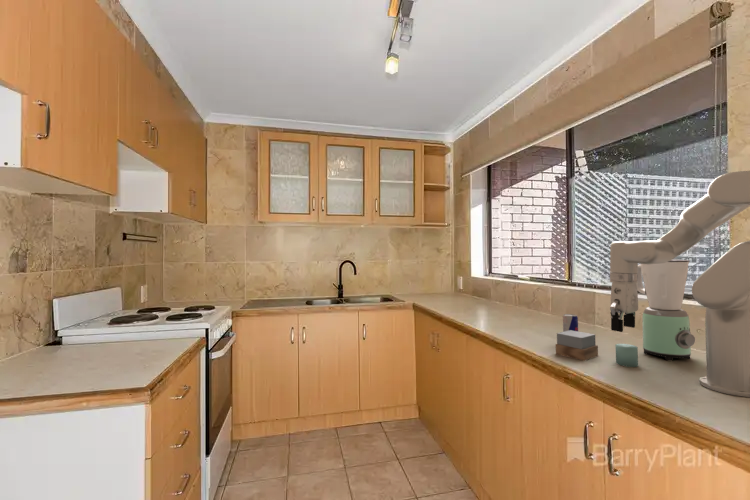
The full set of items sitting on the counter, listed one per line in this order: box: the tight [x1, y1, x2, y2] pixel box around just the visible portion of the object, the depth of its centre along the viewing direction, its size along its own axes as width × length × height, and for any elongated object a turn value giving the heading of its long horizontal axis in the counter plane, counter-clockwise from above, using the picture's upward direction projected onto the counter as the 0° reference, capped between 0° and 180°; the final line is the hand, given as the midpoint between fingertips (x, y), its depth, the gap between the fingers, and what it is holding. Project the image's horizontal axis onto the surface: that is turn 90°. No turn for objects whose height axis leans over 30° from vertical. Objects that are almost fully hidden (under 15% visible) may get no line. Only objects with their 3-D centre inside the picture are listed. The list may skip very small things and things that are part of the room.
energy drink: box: [562, 313, 579, 332], centre depth 140 cm, size 5×5×12 cm
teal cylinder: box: [614, 343, 639, 368], centre depth 115 cm, size 6×6×6 cm
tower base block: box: [555, 343, 599, 362], centre depth 127 cm, size 10×10×4 cm
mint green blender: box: [636, 258, 696, 362], centre depth 124 cm, size 19×13×35 cm
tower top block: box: [556, 330, 596, 349], centre depth 127 cm, size 9×9×4 cm
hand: (623, 328), depth 116 cm, fingers open, 9 cm apart
